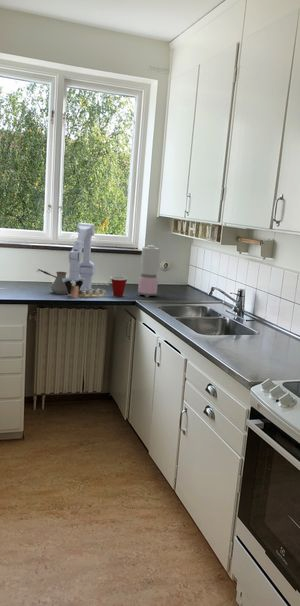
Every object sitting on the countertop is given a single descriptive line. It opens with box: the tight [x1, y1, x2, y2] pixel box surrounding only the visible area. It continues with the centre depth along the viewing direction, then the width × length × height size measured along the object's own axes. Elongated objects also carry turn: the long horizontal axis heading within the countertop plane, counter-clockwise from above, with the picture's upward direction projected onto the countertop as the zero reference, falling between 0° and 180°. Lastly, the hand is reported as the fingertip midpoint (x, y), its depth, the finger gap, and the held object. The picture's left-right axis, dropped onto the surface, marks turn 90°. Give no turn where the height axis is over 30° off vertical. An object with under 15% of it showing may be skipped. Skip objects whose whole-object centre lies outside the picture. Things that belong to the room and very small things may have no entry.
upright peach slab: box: [67, 283, 79, 299], centre depth 303 cm, size 8×2×7 cm, turn 38°
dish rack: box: [78, 287, 108, 299], centre depth 311 cm, size 11×17×4 cm, turn 128°
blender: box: [137, 244, 160, 298], centre depth 326 cm, size 16×12×32 cm
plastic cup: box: [110, 275, 128, 298], centre depth 316 cm, size 11×11×12 cm
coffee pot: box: [37, 268, 68, 295], centre depth 307 cm, size 21×12×15 cm, turn 124°
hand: (73, 293), depth 303 cm, fingers open, 5 cm apart
